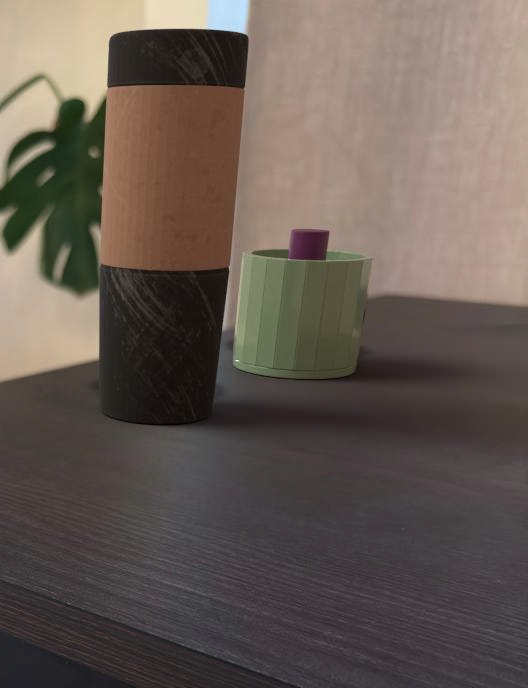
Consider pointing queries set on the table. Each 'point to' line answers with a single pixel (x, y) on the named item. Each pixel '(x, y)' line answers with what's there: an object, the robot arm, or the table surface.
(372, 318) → the table surface
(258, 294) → the cup
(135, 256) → the travel mug
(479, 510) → the table surface
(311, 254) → the glue stick
